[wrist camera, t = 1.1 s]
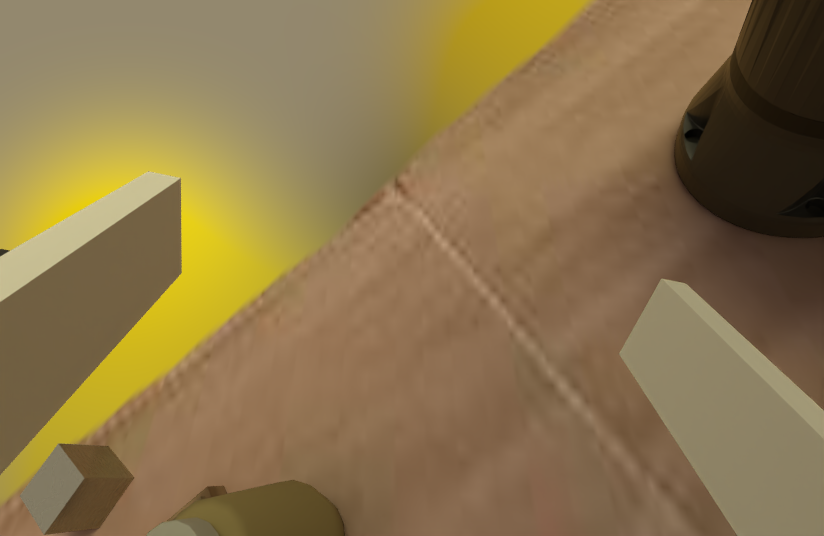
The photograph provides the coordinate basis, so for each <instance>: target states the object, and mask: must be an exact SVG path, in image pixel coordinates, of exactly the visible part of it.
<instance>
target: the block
mask: <svg viewBox="0 0 824 536" xmlns="http://www.w3.org/2000/svg"><path fill="white" fill-rule="evenodd" d="M133 479H134V477H133V475H132V474H131V473H130V472H129V471H128V469H127V468H126V467H125V466H124V464H123V463H122V462H121V461H120V460H119V458H118V457H117V456H116V455H115V454H114V452H113V451H112V450H111V449H110V448H109V446H95V445H77V444H58V445H57V446H56V448H55V449H54V450H53V452H52V453H51V454H50V456H49V457H48V458H47V460H46V461H45V462H44V464H43V465H42V467H41V468H40V469H39V471H38V472H37V473H36V475H35V476H34V477H33V479H32V480H31V481H30V483H29V484H28V485H27V487H26V488H25V489H24V491H23V492H22V494H21V495H20V497H21V499H22V500H23V502H24V504H25V505H26V507H27V508H28V510H29V512H30V513H31V515H32V516H33V518H34V520H35V521H36V523H37V524H38V526H39V528H40V529H41V531H42V533H43V534H44V535H46V534H55V533H63V532H72V531H80V530H88V529H97V528H100V526H101V525H102V523H103V522H104V521H105V519H106V518H107V516H108V515H109V513H110V512H111V510H112V509H113V508H114V506H115V505H116V503H117V502H118V500H119V499H120V497H121V496H122V495H123V493H124V492H125V490H126V489H127V487H128V486H129V485H130V483H131V482H132V480H133Z"/></svg>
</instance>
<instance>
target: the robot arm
mask: <svg viewBox="0 0 824 536" xmlns="http://www.w3.org/2000/svg"><path fill="white" fill-rule="evenodd" d="M675 162H676V166H677V170H678V173H679V175H680V177H681V179H682V181H683V183H684V185H685V186H686V188H687V189H688V190H689V192H690V193H691V194H692V195H693V196H694V197H695V199H696V200H698V201H699V202H700V203H701V204H702V205H703V206H704V207H706V208H707V209H708V210H710V211H711V212H712V213H714V214H716V215H717V216H719V217H721V218H722V219H724V220H726V221H728V222H730V223H733V224H735V225H737V226H740V227H742V228H745V229H749V230H752V231H755V232H759V233H764V234H768V235H774V236H782V237H796V238H809V237H822V236H824V0H752V2H751V5H750V8H749V10H748V13H747V16H746V19H745V21H744V24H743V27H742V29H741V32H740V35H739V38H738V40H737V43H736V46H735V48H734V51H733V53H732V55H731V56H730V57H729V58H728V59H727V60H726V61H725V63H724V64H723V65H722V66H721V67H720V68H719V69H718V70H717V72H716V73H715V74H714V75H713V76H712V77H711V78H710V79H709V81H708V82H707V83H706V84H705V85H704V86H703V87H702V88H701V90H700V91H699V92H698V93H697V94H696V95H695V97H694V98H693V99H692V101H691V102H690V104H689V106H688V108H687V109H686V111H685V113H684V116H683V118H682V121H681V124H680V127H679V131H678V134H677V138H676V142H675ZM180 274H181V178H177V177H173V176H168V175H163V174H158V173H154V172H149V171H148V172H147V173H145V174H143V175H141V176H140V177H138V178H136V179H134V180H133V181H131V182H129V183H128V184H126V185H124V186H122V187H120V188H119V189H117V190H115V191H114V192H112V193H110V194H108V195H107V196H105V197H103V198H101V199H100V200H98V201H96V202H95V203H93V204H91V205H89V206H87V207H86V208H84V209H82V210H80V211H79V212H77V213H75V214H73V215H72V216H70V217H68V218H66V219H65V220H63V221H61V222H60V223H58V224H56V225H54V226H53V227H51V228H49V229H47V230H45V231H44V232H42V233H40V234H39V235H37V236H35V237H33V238H32V239H30V240H28V241H26V242H25V243H23V244H21V245H19V246H18V247H16V248H14V249H12V250H11V251H8V250H4V249H0V475H1V473H2V472H3V471H4V470H5V469H6V468H7V467H8V466H9V465H10V463H11V462H12V461H13V460H14V459H15V458H16V457H17V456H18V455H19V453H20V452H21V451H22V450H23V449H24V448H25V447H26V446H27V445H28V443H29V442H30V441H31V440H32V439H33V438H34V437H35V436H36V434H37V433H38V432H39V431H40V430H41V429H42V428H43V427H44V426H45V425H46V423H47V422H48V421H49V420H50V419H51V418H52V417H53V416H54V415H55V413H56V412H57V411H58V410H59V409H60V408H61V407H62V406H63V404H64V403H65V402H66V401H67V400H68V399H69V398H70V397H71V396H72V394H73V393H74V392H75V391H76V390H77V389H78V388H79V387H80V385H81V384H82V383H83V382H84V381H85V380H86V379H87V378H88V376H90V374H91V373H92V372H93V371H94V370H95V369H96V367H98V365H99V364H100V363H101V362H102V361H103V360H104V359H105V358H106V356H107V355H108V354H109V353H110V352H111V351H112V350H113V349H114V348H115V347H116V345H117V344H118V343H119V342H120V341H121V340H122V339H123V338H124V337H125V335H126V334H127V333H128V332H129V331H130V330H131V329H132V327H134V325H135V324H136V323H137V322H138V321H139V320H140V319H141V317H143V315H144V314H145V313H146V312H147V311H148V310H149V309H150V308H151V306H152V305H153V304H154V303H155V302H156V301H157V300H158V299H159V298H160V296H161V295H162V294H163V293H164V292H165V291H166V290H167V289H168V287H169V286H170V285H171V284H172V283H173V282H174V281H175V280H176V279H177V278H178V276H179V275H180ZM619 355H620V356H621V358H622V359H623V361H624V362H625V364H626V365H627V367H628V368H629V370H630V372H631V373H632V375H633V376H634V378H635V379H636V381H637V382H638V384H639V385H640V387H641V388H642V390H643V392H644V393H645V395H646V396H647V398H648V399H649V401H650V402H651V404H652V405H653V407H654V408H655V410H656V412H657V413H658V415H659V416H660V418H661V419H662V421H663V422H664V424H665V425H666V427H667V428H668V430H669V432H670V433H671V435H672V436H673V438H674V439H675V441H676V442H677V444H678V445H679V447H680V448H681V450H682V452H683V453H684V455H685V456H686V458H687V459H688V461H689V462H690V464H691V465H692V467H693V468H694V470H695V471H696V473H697V475H698V476H699V478H700V479H701V481H702V482H703V484H704V485H705V487H706V488H707V490H708V491H709V493H710V495H711V496H712V498H713V499H714V501H715V502H716V504H717V505H718V507H719V508H720V510H721V511H722V513H723V515H724V516H725V518H726V519H727V521H728V522H729V524H730V525H731V527H732V528H733V530H734V531H735V533H736V535H737V536H824V410H823V409H821V408H820V407H819V406H818V405H817V404H816V403H815V402H814V401H813V400H812V399H811V398H810V397H808V396H807V395H806V394H805V393H804V392H803V391H802V390H801V389H800V388H799V387H798V386H797V385H795V384H794V383H793V382H792V381H791V380H790V379H789V378H788V377H787V376H786V375H785V374H784V373H782V372H781V371H780V370H779V369H778V368H777V367H776V366H775V365H774V364H773V363H772V362H771V361H769V360H768V359H767V358H766V357H765V356H764V355H763V354H762V353H761V352H760V351H759V350H757V349H756V348H755V347H754V346H753V345H752V344H751V343H750V342H749V341H748V340H747V339H746V338H744V337H743V336H742V335H741V334H740V333H739V332H738V331H737V330H736V329H735V328H734V327H733V326H731V325H730V324H729V323H728V322H727V321H726V320H725V319H724V318H723V317H722V316H721V315H720V314H718V313H717V312H716V311H715V310H714V309H713V308H712V307H711V306H710V305H709V304H708V303H706V302H705V301H704V300H703V299H702V298H701V297H700V296H699V295H698V294H697V293H696V292H695V291H693V290H692V289H691V288H690V287H689V286H688V285H687V284H686V283H681V282H676V281H671V280H666V279H662V278H661V280H660V282H659V284H658V286H657V287H656V289H655V291H654V293H653V294H652V296H651V298H650V300H649V302H648V303H647V305H646V307H645V309H644V310H643V312H642V314H641V316H640V318H639V319H638V321H637V323H636V325H635V326H634V328H633V330H632V332H631V334H630V335H629V337H628V339H627V341H626V342H625V344H624V346H623V348H622V350H621V351H620V353H619Z"/></svg>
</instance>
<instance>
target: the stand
mask: <svg viewBox="0 0 824 536" xmlns="http://www.w3.org/2000/svg"><path fill="white" fill-rule="evenodd" d="M225 494H227V493H226V490H225V488H224V486H210V487H206V488H205V489H204V490H203V491H202V492H200V493H199V494H198V495H197V496H196V497H194V498H193V499H192V500H191V501H190V502H189V503H187V504H186V505H185V506H184V507H183V508H181V509H180V510H179V511H178V512H177V513H176V514H174V515H173V516H172V517H171V518H170V519H168V520H167V521H173V520H175V518H176V517H177V516H178V514H179V513H180V512H182V511H183V510H184V509H186V508H187V507H189V506H190V505H191V504H193V503H194V502H196V501H198V500H202V499H207V498H211V497H216V496H220V495H225ZM167 521H166V522H167Z"/></svg>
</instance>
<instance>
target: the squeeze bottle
mask: <svg viewBox="0 0 824 536" xmlns="http://www.w3.org/2000/svg"><path fill="white" fill-rule="evenodd" d="M146 536H344V524H343V521H342V519H341V517H340V514H339V512H338V509H337V508H336V507H335V506H334V505H333V504H332V503H331V502H330V501H329V500H328V499H327V498H326V497H324V496H323V495H322V494H321V493H320V492H318V491H317V490H316V489H315V488H313V487H312V486H311V485H308V484H304V483H301V482H298V481H295V480H290V481H284V482H279V483H274V484H269V485H265V486H260V487H256V488H251V489H247V490H242V491H238V492H233V493H229V494H225V495H220V496H216V497H211V498H207V499H202V500H198V501H196V502H194V503H193V504H191V505H190V506H189V507H187V508H186V509H184V510H183V511H182V512H180V513H179V514H178V516H177V517H176V518H175V520H173V521H167V522H162V523H161V524H159V525H158V526H157V527H155V528H154V529H152V530H151V531H150V532H149V533H148V534H147V535H146Z"/></svg>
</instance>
